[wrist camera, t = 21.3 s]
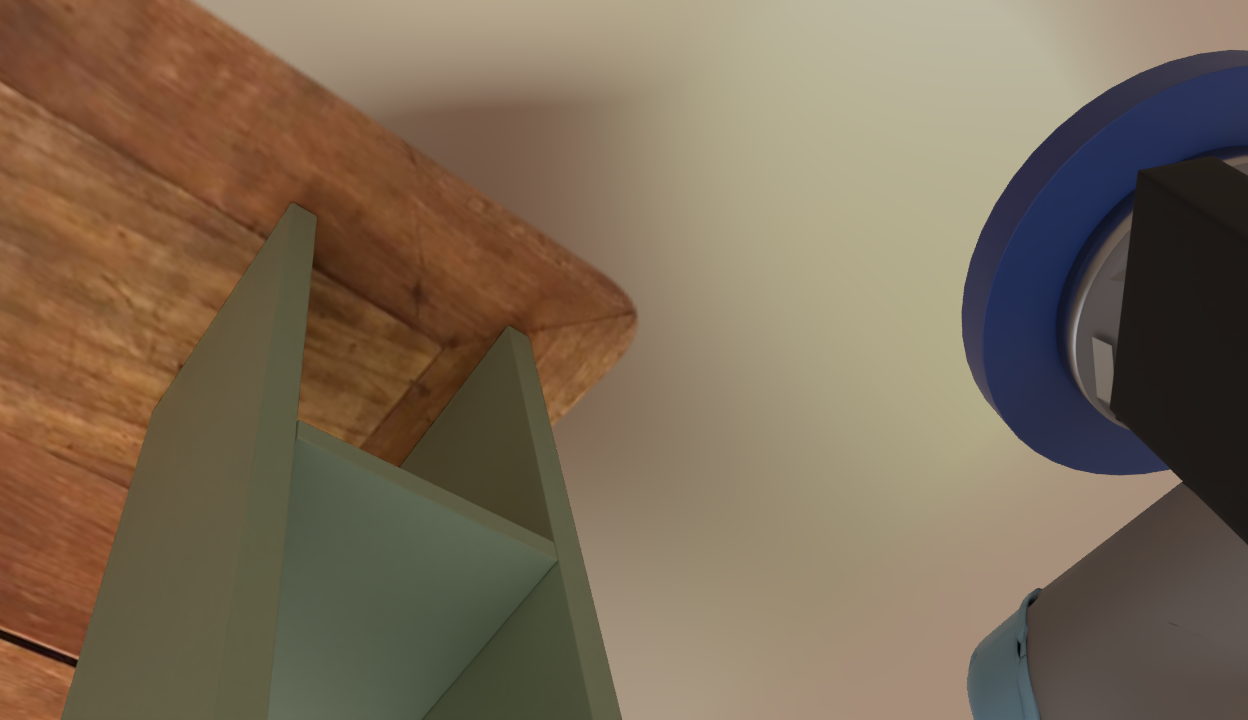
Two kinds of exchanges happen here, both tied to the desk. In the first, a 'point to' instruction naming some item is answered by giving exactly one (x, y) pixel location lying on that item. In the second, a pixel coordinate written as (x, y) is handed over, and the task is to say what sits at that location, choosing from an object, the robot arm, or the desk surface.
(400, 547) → the shelf
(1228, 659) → the robot arm
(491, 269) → the desk surface
